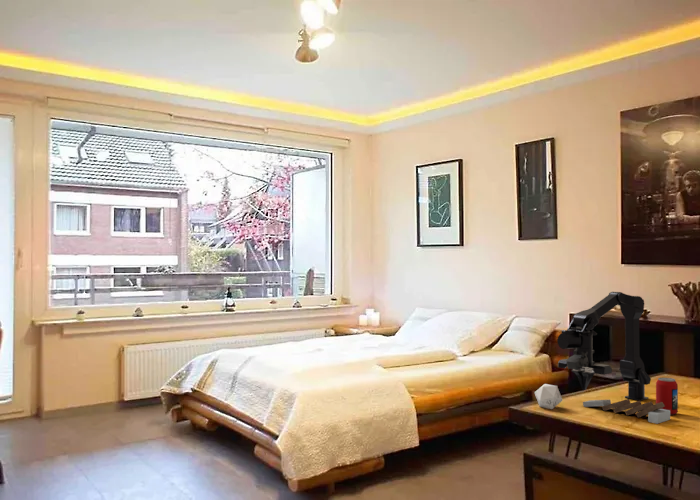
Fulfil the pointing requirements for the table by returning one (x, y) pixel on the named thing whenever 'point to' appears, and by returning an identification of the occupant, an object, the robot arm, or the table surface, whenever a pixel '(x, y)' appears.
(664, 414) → the block
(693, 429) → the table surface
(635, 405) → the tile
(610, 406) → the tile
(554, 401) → the die
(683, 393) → the table surface
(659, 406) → the tile
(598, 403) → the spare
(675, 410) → the beverage can
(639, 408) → the tile
